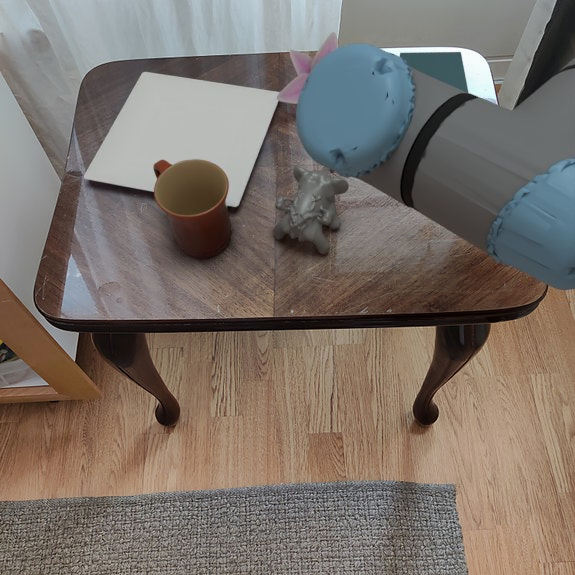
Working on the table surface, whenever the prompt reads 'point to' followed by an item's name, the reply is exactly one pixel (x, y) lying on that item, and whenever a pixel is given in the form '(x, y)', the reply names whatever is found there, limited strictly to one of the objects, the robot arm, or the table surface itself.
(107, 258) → the table surface
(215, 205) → the mug
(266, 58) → the table surface
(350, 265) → the table surface
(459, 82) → the square coaster
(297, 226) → the elephant statuette
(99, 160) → the plate
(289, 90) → the lily
